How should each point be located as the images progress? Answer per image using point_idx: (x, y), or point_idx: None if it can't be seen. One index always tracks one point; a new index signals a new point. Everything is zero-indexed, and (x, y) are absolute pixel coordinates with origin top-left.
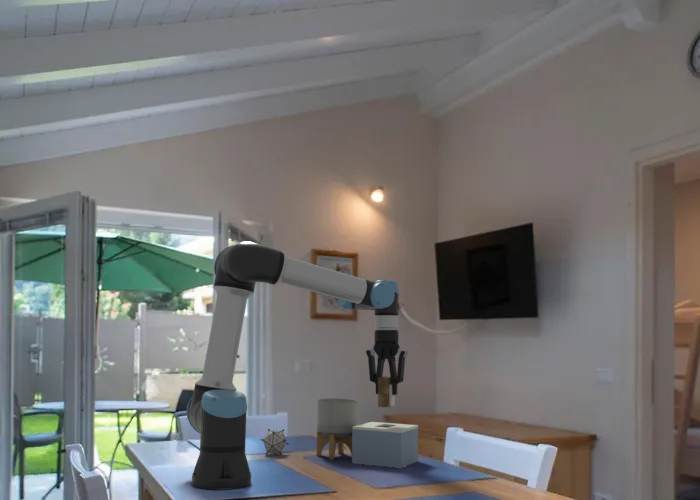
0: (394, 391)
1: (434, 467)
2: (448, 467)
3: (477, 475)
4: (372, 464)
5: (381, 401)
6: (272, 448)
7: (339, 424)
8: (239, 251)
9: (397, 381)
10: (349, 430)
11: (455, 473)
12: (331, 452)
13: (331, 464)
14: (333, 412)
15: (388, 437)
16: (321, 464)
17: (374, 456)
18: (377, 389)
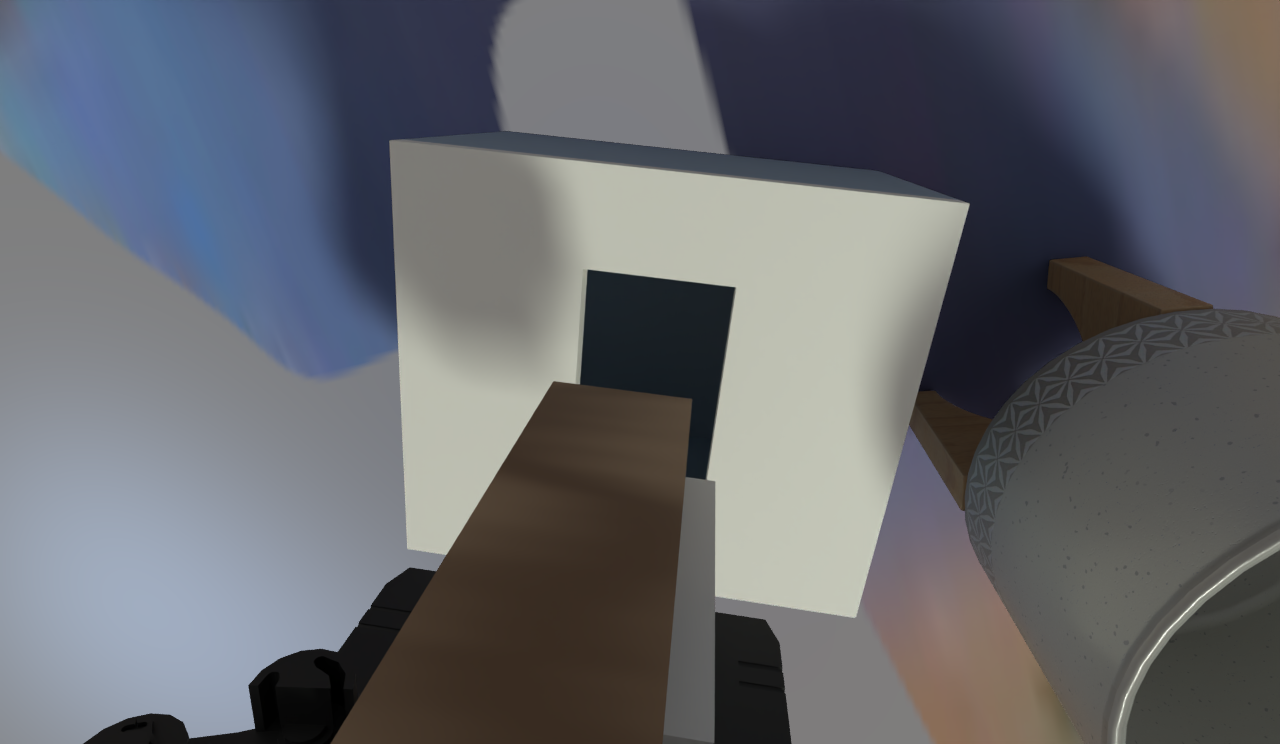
0: (394, 611)
1: (343, 263)
2: (277, 297)
3: (35, 111)
4: (716, 154)
5: (628, 425)
6: None
7: (1161, 358)
8: None
9: (172, 738)
10: (1021, 406)
11: (160, 117)
12: (1093, 269)
13: (1026, 64)
14: None
15: (549, 150)
16: (1109, 26)
17: (699, 155)
18: (743, 681)
